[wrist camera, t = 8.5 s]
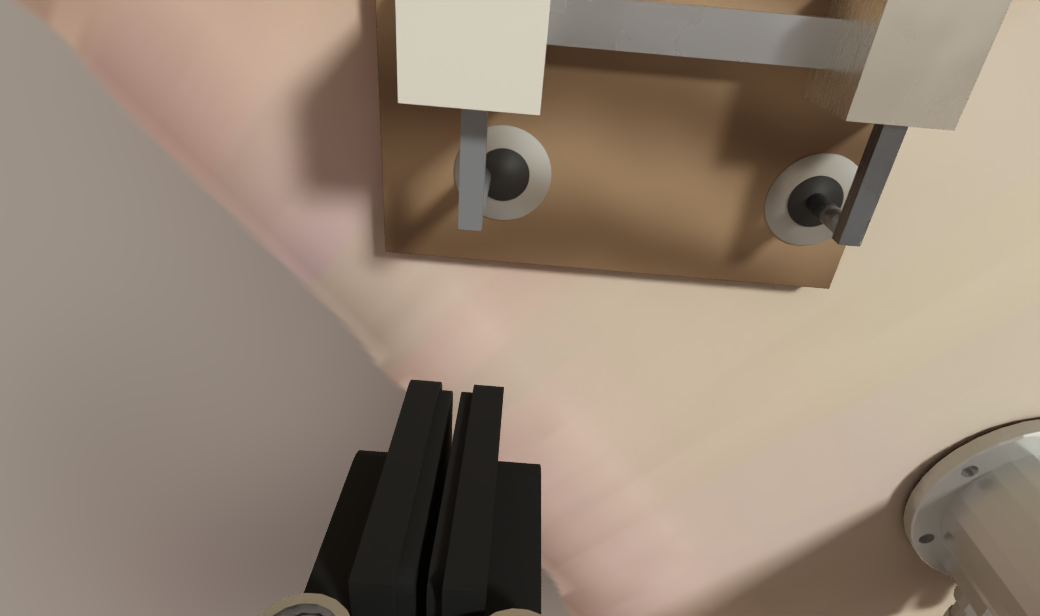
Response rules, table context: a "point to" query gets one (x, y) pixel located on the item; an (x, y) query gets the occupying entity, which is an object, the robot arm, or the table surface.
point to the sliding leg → (472, 73)
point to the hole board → (631, 166)
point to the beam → (821, 64)
